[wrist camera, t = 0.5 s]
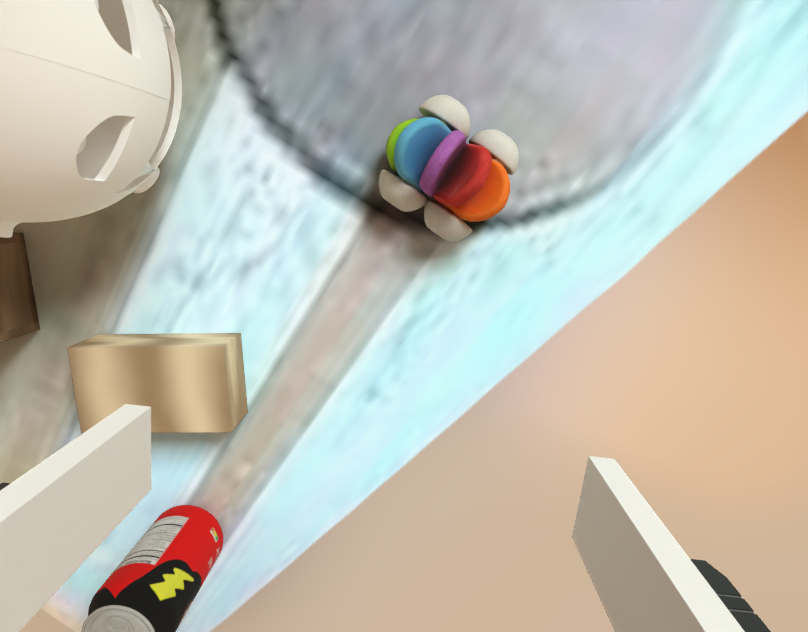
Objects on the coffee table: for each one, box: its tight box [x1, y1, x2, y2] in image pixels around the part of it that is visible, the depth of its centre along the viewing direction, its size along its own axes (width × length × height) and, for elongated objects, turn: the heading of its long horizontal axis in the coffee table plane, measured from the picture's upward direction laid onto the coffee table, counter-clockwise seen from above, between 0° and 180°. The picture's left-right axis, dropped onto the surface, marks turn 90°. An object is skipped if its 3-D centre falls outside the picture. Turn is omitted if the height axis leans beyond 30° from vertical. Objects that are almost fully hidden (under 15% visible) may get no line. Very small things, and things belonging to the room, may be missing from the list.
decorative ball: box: [0, 0, 182, 238], centre depth 29 cm, size 20×17×20 cm
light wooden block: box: [67, 333, 248, 433], centre depth 42 cm, size 12×7×4 cm, turn 91°
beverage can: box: [82, 505, 223, 632], centre depth 41 cm, size 6×6×12 cm
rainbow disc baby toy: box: [379, 95, 519, 242], centre depth 36 cm, size 8×10×7 cm
